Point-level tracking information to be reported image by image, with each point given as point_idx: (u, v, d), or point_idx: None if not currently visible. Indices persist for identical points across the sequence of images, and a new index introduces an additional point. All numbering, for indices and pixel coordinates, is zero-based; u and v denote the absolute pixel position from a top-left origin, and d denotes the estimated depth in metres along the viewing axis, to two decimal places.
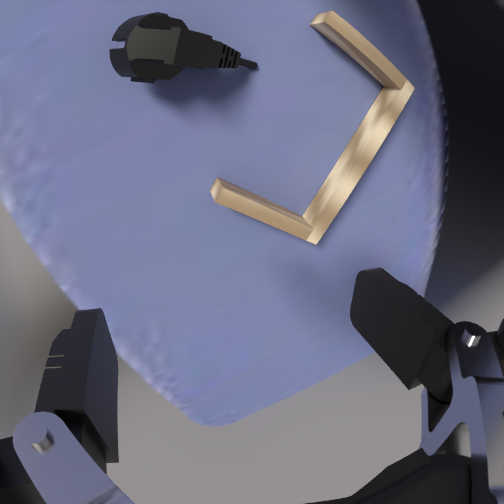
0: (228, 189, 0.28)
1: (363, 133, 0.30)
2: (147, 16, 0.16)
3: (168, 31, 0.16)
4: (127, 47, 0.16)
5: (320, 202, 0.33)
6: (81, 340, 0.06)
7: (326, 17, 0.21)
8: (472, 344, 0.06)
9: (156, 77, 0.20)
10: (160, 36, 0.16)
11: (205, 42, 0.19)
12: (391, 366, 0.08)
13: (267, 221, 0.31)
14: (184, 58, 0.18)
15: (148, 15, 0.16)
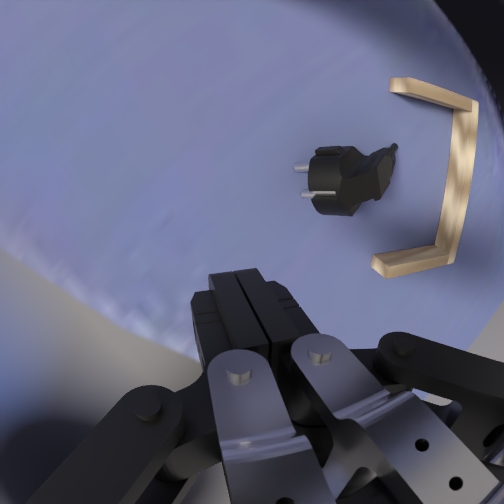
0: (391, 264, 0.32)
1: (457, 160, 0.31)
2: (340, 162, 0.22)
3: (368, 173, 0.22)
4: (341, 200, 0.23)
5: (445, 230, 0.34)
6: (232, 295, 0.08)
7: (407, 86, 0.24)
8: (311, 363, 0.06)
9: (358, 206, 0.25)
10: (364, 180, 0.22)
11: (385, 163, 0.24)
12: None
13: (421, 269, 0.33)
14: (383, 187, 0.23)
15: (339, 160, 0.22)
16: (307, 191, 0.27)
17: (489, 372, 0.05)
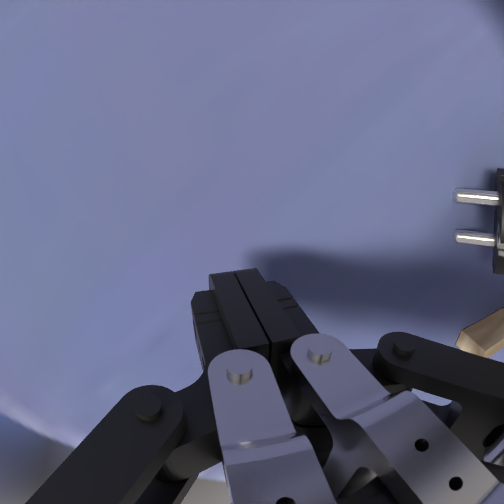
0: (486, 346, 0.18)
1: None
2: None
3: None
4: None
5: None
6: (232, 295, 0.08)
7: None
8: (310, 363, 0.06)
9: None
10: None
11: None
12: None
13: None
14: None
15: None
16: (466, 233, 0.15)
17: (489, 372, 0.05)
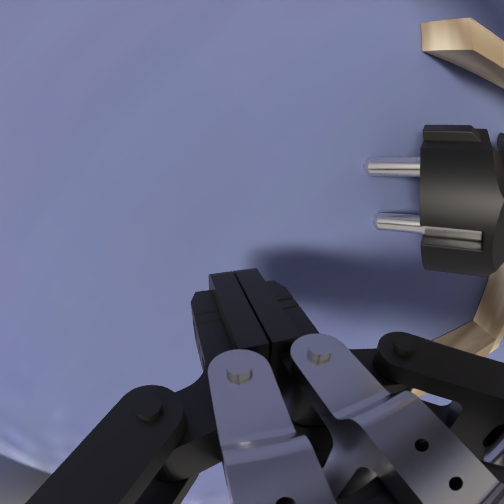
0: None
1: None
2: (493, 162, 0.07)
3: None
4: (493, 251, 0.08)
5: (494, 302, 0.19)
6: (232, 295, 0.08)
7: (465, 36, 0.08)
8: (310, 363, 0.06)
9: None
10: None
11: None
12: None
13: None
14: None
15: (492, 158, 0.07)
16: (390, 217, 0.13)
17: (489, 372, 0.05)
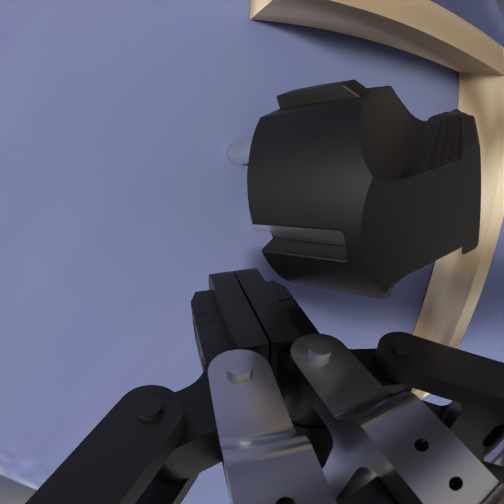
0: None
1: None
2: (360, 120, 0.05)
3: (459, 164, 0.05)
4: (366, 262, 0.06)
5: (428, 339, 0.17)
6: (232, 295, 0.08)
7: None
8: (310, 363, 0.06)
9: None
10: (445, 188, 0.06)
11: None
12: None
13: None
14: None
15: (359, 114, 0.05)
16: None
17: (489, 372, 0.05)
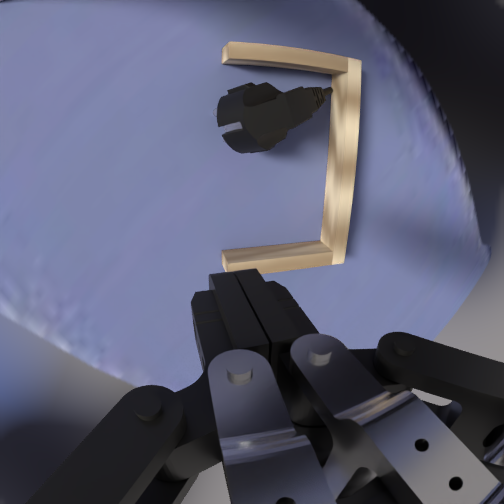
0: (233, 261, 0.29)
1: (336, 135, 0.28)
2: (244, 93, 0.21)
3: (275, 100, 0.21)
4: (247, 129, 0.21)
5: (329, 222, 0.32)
6: (232, 294, 0.08)
7: (228, 51, 0.21)
8: (310, 363, 0.06)
9: (277, 141, 0.24)
10: (271, 107, 0.21)
11: (302, 94, 0.22)
12: None
13: (285, 268, 0.31)
14: (298, 117, 0.22)
15: (244, 92, 0.21)
16: None
17: (489, 372, 0.05)
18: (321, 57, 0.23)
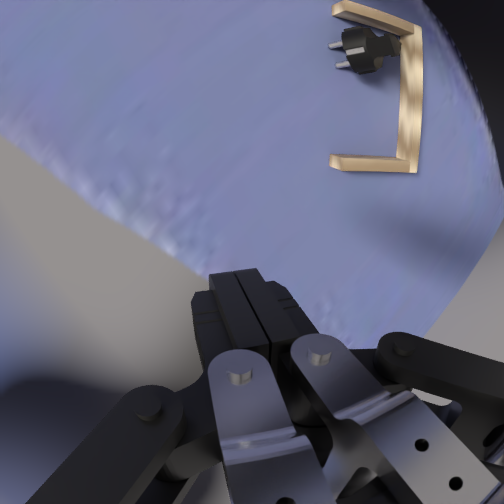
0: (346, 157, 0.34)
1: (406, 76, 0.33)
2: (363, 30, 0.25)
3: (383, 37, 0.25)
4: (368, 51, 0.26)
5: (404, 140, 0.37)
6: (232, 295, 0.08)
7: (343, 6, 0.26)
8: (310, 363, 0.06)
9: (379, 67, 0.29)
10: (381, 41, 0.25)
11: (394, 38, 0.27)
12: None
13: (380, 169, 0.36)
14: (395, 51, 0.26)
15: (362, 29, 0.25)
16: None
17: (489, 372, 0.05)
18: (398, 21, 0.28)
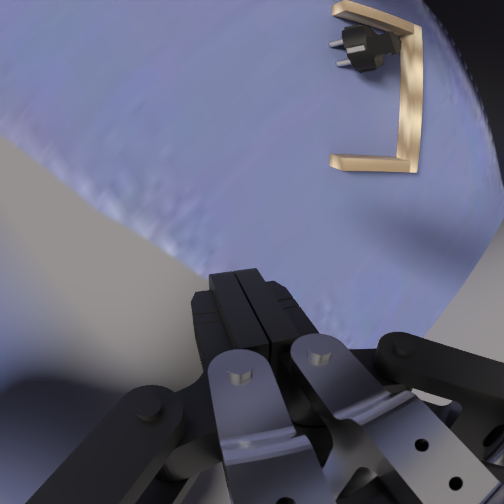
0: (346, 157, 0.34)
1: (407, 76, 0.33)
2: (363, 28, 0.25)
3: (384, 35, 0.25)
4: (369, 49, 0.26)
5: (404, 140, 0.37)
6: (232, 295, 0.08)
7: (343, 6, 0.26)
8: (310, 363, 0.06)
9: (380, 64, 0.29)
10: (382, 38, 0.25)
11: (394, 36, 0.27)
12: None
13: (380, 169, 0.36)
14: (396, 48, 0.26)
15: (363, 27, 0.25)
16: (341, 60, 0.31)
17: (489, 372, 0.05)
18: (398, 21, 0.28)
